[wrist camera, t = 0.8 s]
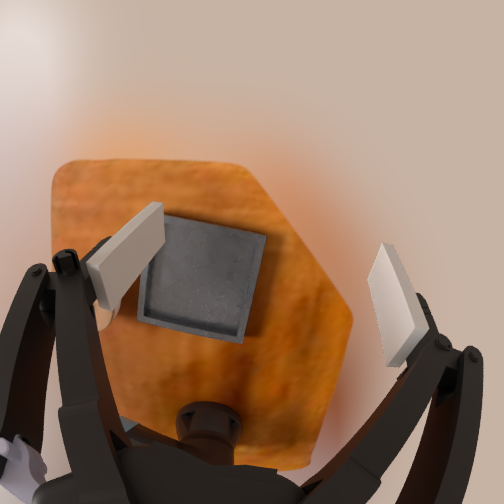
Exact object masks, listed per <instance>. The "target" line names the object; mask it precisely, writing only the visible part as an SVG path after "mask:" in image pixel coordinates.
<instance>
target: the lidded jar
mask: <svg viewBox="0 0 504 504" xmlns="http://www.w3.org/2000/svg"><path fill="white" fill-rule="evenodd" d="M120 305H121V300H120V301H119V303H118V304H117V305H116V307H115V308H114V310H113V311H112V312H111V311H108V310H105V309H102V308H100V307H99V304H98V301H97V299H96V301H95V302H94V303H93V306H94V309H95V315H96V321H97V327H98V332H100V331H102V330H104V329H106V328H107V327H108V326H109V325H110V323H111V322H112V321H113V320H114V318H115V317H116V315H117V314H118V311H119V309H120Z"/></svg>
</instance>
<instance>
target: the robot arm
mask: <svg viewBox="0 0 504 504" xmlns="http://www.w3.org/2000/svg"><path fill="white" fill-rule="evenodd" d="M164 243H165V230H164V210H163V203H159V202H151V203H150V204H149V205H148V206H146V207H145V208H144V209H143V210H142V211H141V212H139V213H138V214H137V215H136V216H135V217H134V218H132V219H131V220H130V221H129V222H128V223H127V224H126V225H125V226H123V227H122V228H121V229H120V230H119V231H118V232H117V233H116V234H115V235H114V236H109V237H107V238H105V239H103V240H101V241H100V242H99V243H98V244H97V245H96V247H94V248H93V249H92V250H91V251H90V252H89V253H88V254H87V255H85V256H84V257H83V258H82V259H81V260H80V261H79V259H78V255H77V252H76V251H75V250H74V249H64V250H62V251H59V252H58V253H56V254H55V255H54V256H53V259H52V261H53V264H54V267H55V270H56V272H48V270H47V267H46V265H45V264H42V263H39V264H35V265H33V266H32V267H30V268H29V269H28V270H27V272H26V273H25V276H24V278H23V280H22V282H21V284H20V286H19V288H18V290H17V293H16V295H15V297H14V300H13V302H12V304H11V307H10V310H9V312H8V314H7V317H6V320H5V322H4V325H3V328H2V331H1V333H0V484H1V485H2V486H3V487H4V488H5V489H7V490H8V491H9V492H10V493H12V494H13V495H14V496H16V497H17V498H18V499H20V500H21V501H22V502H24V503H25V504H366V503H367V501H368V500H369V499H370V498H371V497H372V496H373V494H374V493H375V492H376V491H377V489H378V488H379V486H380V484H381V480H380V478H381V476H382V475H383V473H384V472H385V471H386V470H387V468H388V467H389V465H390V464H391V462H392V461H393V460H394V459H395V457H396V456H397V454H398V453H399V451H400V450H401V448H402V447H403V445H404V444H405V442H406V441H407V439H408V438H409V436H410V435H411V433H412V431H413V430H414V428H415V426H416V425H417V423H418V421H419V419H420V418H421V416H422V414H423V412H424V411H425V409H426V407H427V405H428V403H429V401H430V399H431V397H432V400H431V404H430V409H429V413H428V416H427V420H426V424H425V427H424V431H423V435H422V438H421V441H420V444H419V447H418V450H417V453H416V456H415V459H414V461H413V464H412V466H411V469H410V472H409V474H408V477H407V479H406V482H405V484H404V486H403V488H402V491H401V493H400V495H399V497H398V499H397V501H396V503H395V504H462V501H463V498H464V495H465V492H466V489H467V485H468V482H469V478H470V474H471V470H472V466H473V462H474V457H475V452H476V447H477V441H478V435H479V428H480V420H481V410H482V397H483V357H482V355H481V353H480V351H479V350H478V349H477V348H475V347H473V346H467V347H466V348H465V349H464V351H463V352H461V351H459V350H456V349H453V348H452V344H451V342H450V340H449V339H448V338H447V337H446V336H444V335H443V334H439V332H438V329H437V327H436V324H435V322H434V319H433V316H432V315H431V312H430V310H429V307H428V304H427V302H426V300H425V299H424V298H423V296H422V295H421V294H420V293H415V291H414V288H413V286H412V284H411V282H410V279H409V277H408V275H407V273H406V271H405V269H404V266H403V264H402V262H401V260H400V258H399V256H398V254H397V252H396V250H395V248H394V246H393V245H391V244H386V243H382V244H381V247H380V249H379V252H378V254H377V257H376V259H375V262H374V264H373V267H372V269H371V272H370V274H369V276H368V279H367V281H368V285H369V289H370V292H371V296H372V300H373V305H374V309H375V313H376V317H377V322H378V326H379V331H380V336H381V341H382V346H383V351H384V356H385V362H386V366H387V367H400V366H401V365H402V364H403V363H404V361H405V360H406V362H407V368H406V369H405V370H404V371H403V372H402V373H401V374H400V375H399V377H398V378H397V382H396V383H395V384H394V386H393V387H392V389H391V390H390V392H389V393H388V394H387V396H386V397H385V398H384V400H383V401H382V402H381V404H380V405H379V406H378V407H377V409H376V410H375V411H374V413H373V414H372V415H371V416H370V418H369V419H368V420H367V421H366V422H365V424H364V425H363V426H362V427H361V428H360V429H359V431H358V432H357V433H356V434H355V435H354V436H353V437H352V439H351V440H350V441H349V442H348V443H347V444H346V445H345V446H344V447H343V448H342V449H341V450H340V451H339V452H338V454H336V456H335V457H334V458H333V459H332V460H331V461H330V462H328V463H327V464H326V465H325V467H323V468H322V469H321V470H320V471H319V472H318V473H317V474H315V475H314V476H312V477H311V478H310V479H308V480H307V481H306V482H305V483H304V484H302V485H301V486H300V487H299V486H297V485H296V484H295V483H294V482H292V481H290V480H289V479H287V478H285V477H283V476H281V475H278V474H277V469H272V468H264V467H257V466H250V465H234V449H235V447H236V445H237V443H238V441H239V439H240V437H241V434H242V422H241V419H240V417H239V416H238V415H237V413H236V412H234V411H233V410H232V409H230V408H228V407H226V406H224V405H221V404H218V403H214V402H195V403H191V404H188V405H186V406H185V407H183V408H182V409H181V410H180V411H179V413H178V415H177V419H176V430H177V435H178V440H179V441H177V440H175V439H172V438H170V437H167V436H165V435H162V434H160V433H158V432H156V431H153V430H151V429H149V428H147V427H145V426H142V425H140V423H138V422H134V421H132V420H130V419H127V418H125V417H123V416H119V413H118V410H117V407H116V404H115V400H114V397H113V394H112V390H111V386H110V383H109V379H108V375H107V371H106V367H105V363H104V358H103V353H102V349H101V344H100V339H99V333H98V327H97V321H96V315H95V309H94V306H93V303H94V302H95V301H96V299H97V301H98V304H99V307H100V308H102V309H105V310H108V311H111V312H112V311H113V310H114V308H115V307H116V305H117V304H118V303H119V301H120V300H121V299H122V297H123V296H124V294H125V293H126V292H127V290H128V289H129V288H130V286H131V285H132V284H133V282H134V281H135V280H136V278H137V277H138V276H139V275H140V273H141V272H142V271H143V269H144V268H145V267H146V266H147V264H148V263H149V262H150V260H151V259H152V258H153V257H154V255H155V254H156V253H157V252H158V250H159V249H160V248H161V247H162V245H163V244H164ZM55 337H56V351H57V364H58V373H59V383H60V390H61V396H62V407H61V408H59V410H58V418H59V423H60V428H61V433H62V437H63V441H64V445H65V450H66V453H67V457H68V461H69V464H70V468H71V471H72V472H71V473H69V474H66V475H64V476H61V477H58V478H56V479H53V480H50V481H48V482H46V480H45V477H44V475H45V474H46V473H47V466H46V464H45V463H44V462H43V459H42V457H41V455H40V454H41V448H42V442H43V431H44V411H45V400H46V391H47V382H48V375H49V368H50V363H51V357H52V351H53V345H54V341H55Z"/></svg>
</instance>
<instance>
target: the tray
mask: <svg viewBox="0 0 504 504" xmlns="http://www.w3.org/2000/svg"><path fill="white" fill-rule="evenodd" d="M164 230H165V243H164V244H163V245H162V247H161V248H160V249H159V250H158V252H157V253H156V254H155V255H154V257H153V258H152V259H151V260H150V262H149V263H148V264H147V266H146V267H145V268H144V269H143V271H142V272H141V277H140V287H139V298H138V311H137V321H141V322H145V323H149V324H152V325H156V326H160V327H164V328H168V329H172V330H177V331H181V332H185V333H190V334H194V335H199V336H204V337H209V338H213V339H219V340H224V341H229V342H235V343H240V344H242V342H243V338H244V333H245V329H246V325H247V321H248V316H249V312H250V308H251V303H252V299H253V295H254V290H255V286H256V282H257V277H258V273H259V269H260V264H261V260H262V255H263V251H264V246H265V242H266V238H267V236H266V235H265V234H262V233H258V232H253V231H248V230H244V229H239V228H234V227H229V226H224V225H219V224H214V223H210V222H205V221H200V220H195V219H190V218H185V217H179V216H174V215H169V214H164Z"/></svg>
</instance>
